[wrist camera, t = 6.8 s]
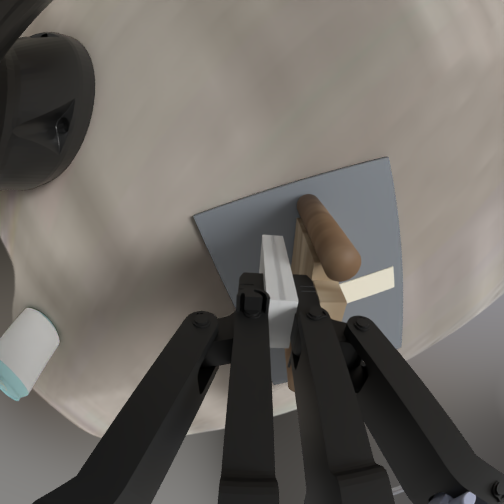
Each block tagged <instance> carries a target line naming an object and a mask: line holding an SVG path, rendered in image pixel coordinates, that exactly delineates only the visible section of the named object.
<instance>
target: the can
mask: <svg viewBox="0 0 504 504" xmlns="http://www.w3.org/2000/svg"><path fill="white" fill-rule="evenodd" d="M59 342H60V341H59V336H58V333H57V331H56V328H55V327H54V325H53V323H52V322H51V321H50V320H49V319H48V318H47V317H46V316H45V315H44V314H43V313H41V312H40V311H38V310H35V309H32V308H26V309H24V310H23V312H22V313H21V314H20V315H19V316H18V317H17V318H16V320H15V321H14V322H13V323H12V324H11V326H10V327H9V328H8V329H7V330H6V332H5V333H4V334H3V335H2V337H1V338H0V390H2V391H3V392H4V393H5V394H6V395H8V396H9V397H10V398H12V399H13V400H15V401H19V399H20V398H21V397H24V396H27V395H28V394H29V392H30V390H31V389H32V387H33V385H34V384H35V382H36V380H37V379H38V377H39V375H40V374H41V372H42V370H43V369H44V367H45V366H46V364H47V362H48V361H49V359H50V358H51V356H52V355H53V353H54V351H55V350H56V348H57V347H58V345H59Z"/></svg>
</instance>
